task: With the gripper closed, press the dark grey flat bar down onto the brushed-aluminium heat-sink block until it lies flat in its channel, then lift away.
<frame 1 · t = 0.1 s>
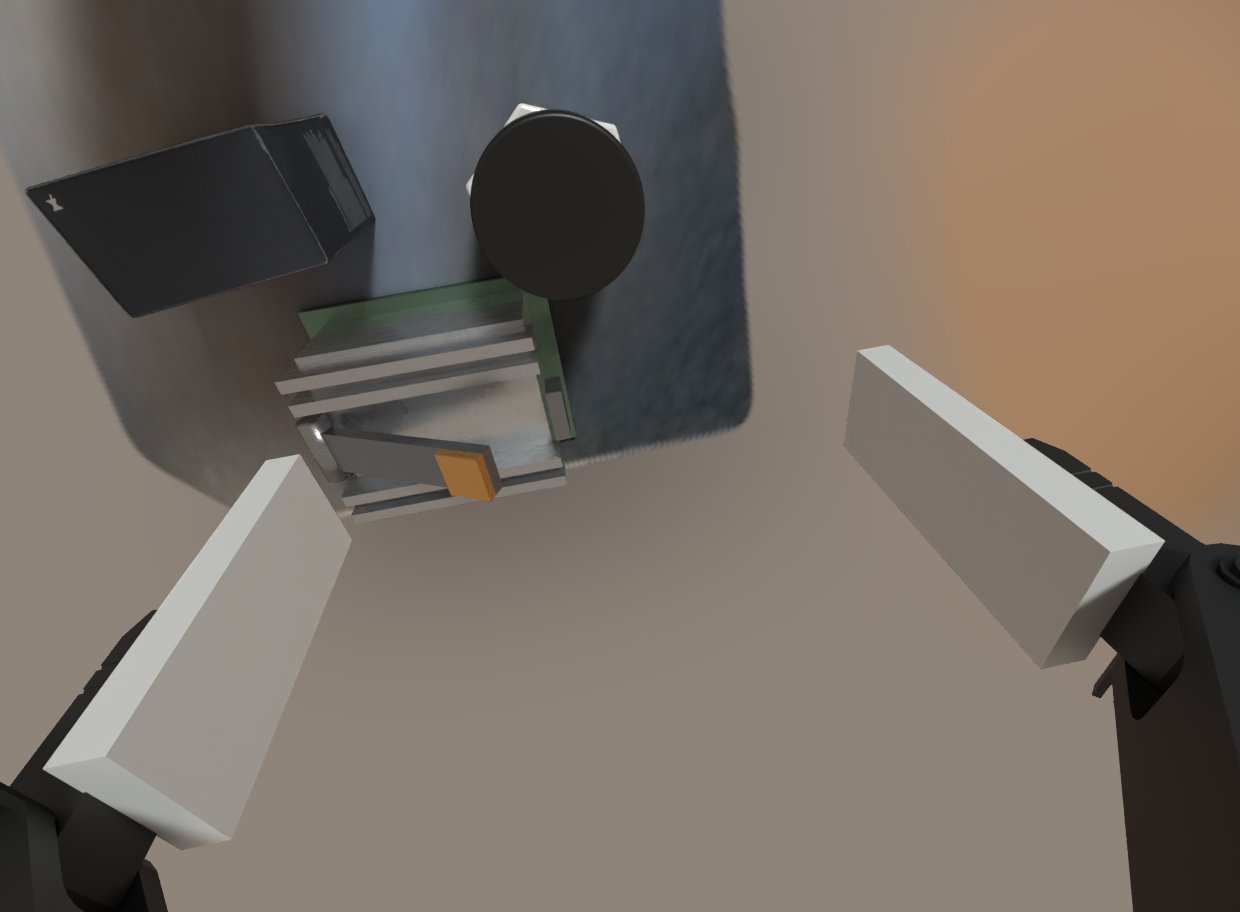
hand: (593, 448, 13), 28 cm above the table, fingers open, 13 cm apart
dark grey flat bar: (396, 458, 32), point 10 cm above the table, hinge at 28.0°
small box: (275, 193, 33), on the table
heatsink: (453, 378, 41), on the table
jar: (551, 179, 34), on the table
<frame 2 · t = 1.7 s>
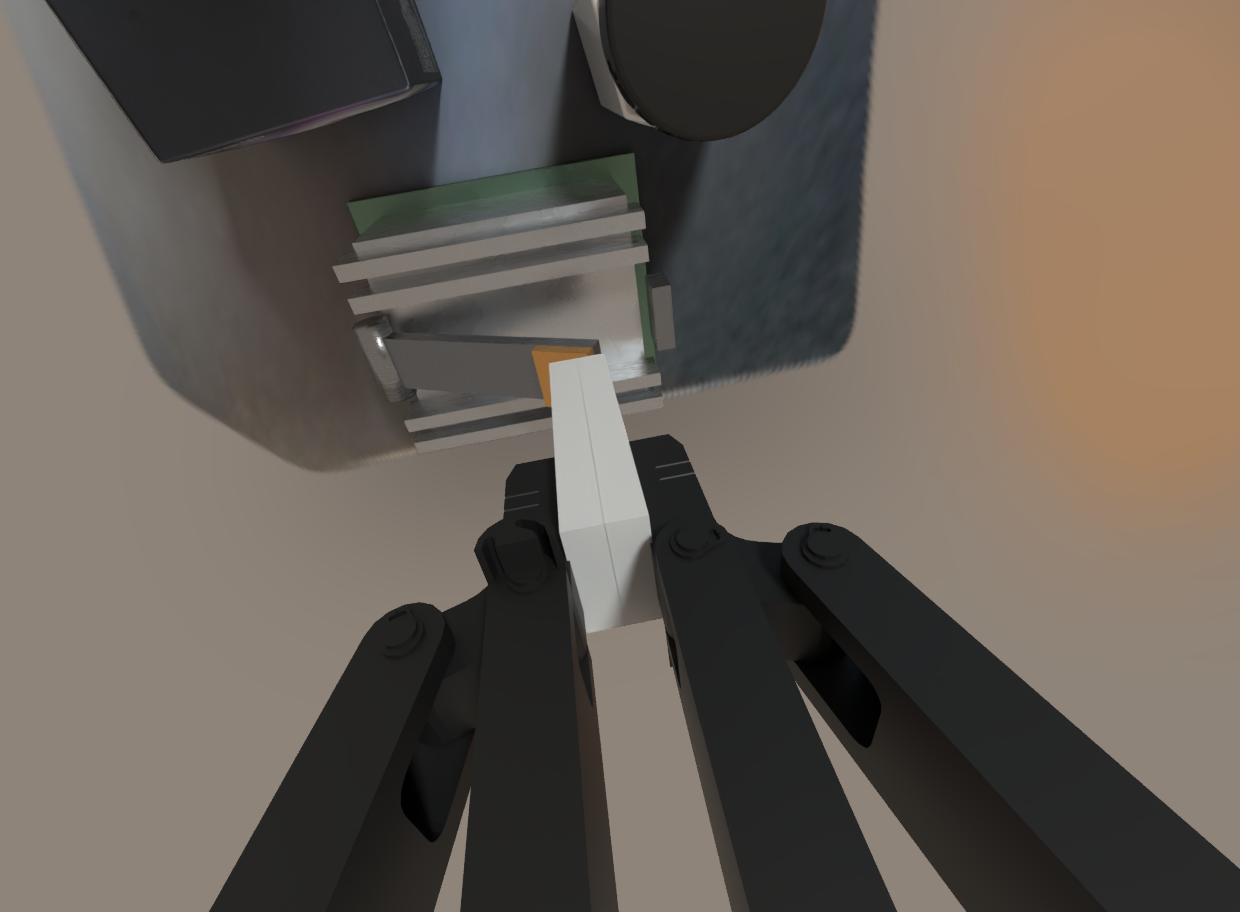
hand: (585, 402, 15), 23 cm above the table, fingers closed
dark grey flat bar: (476, 365, 27), point 10 cm above the table, hinge at 28.0°
small box: (323, 43, 27), on the table
heatsink: (521, 291, 35), on the table
jar: (653, 30, 28), on the table
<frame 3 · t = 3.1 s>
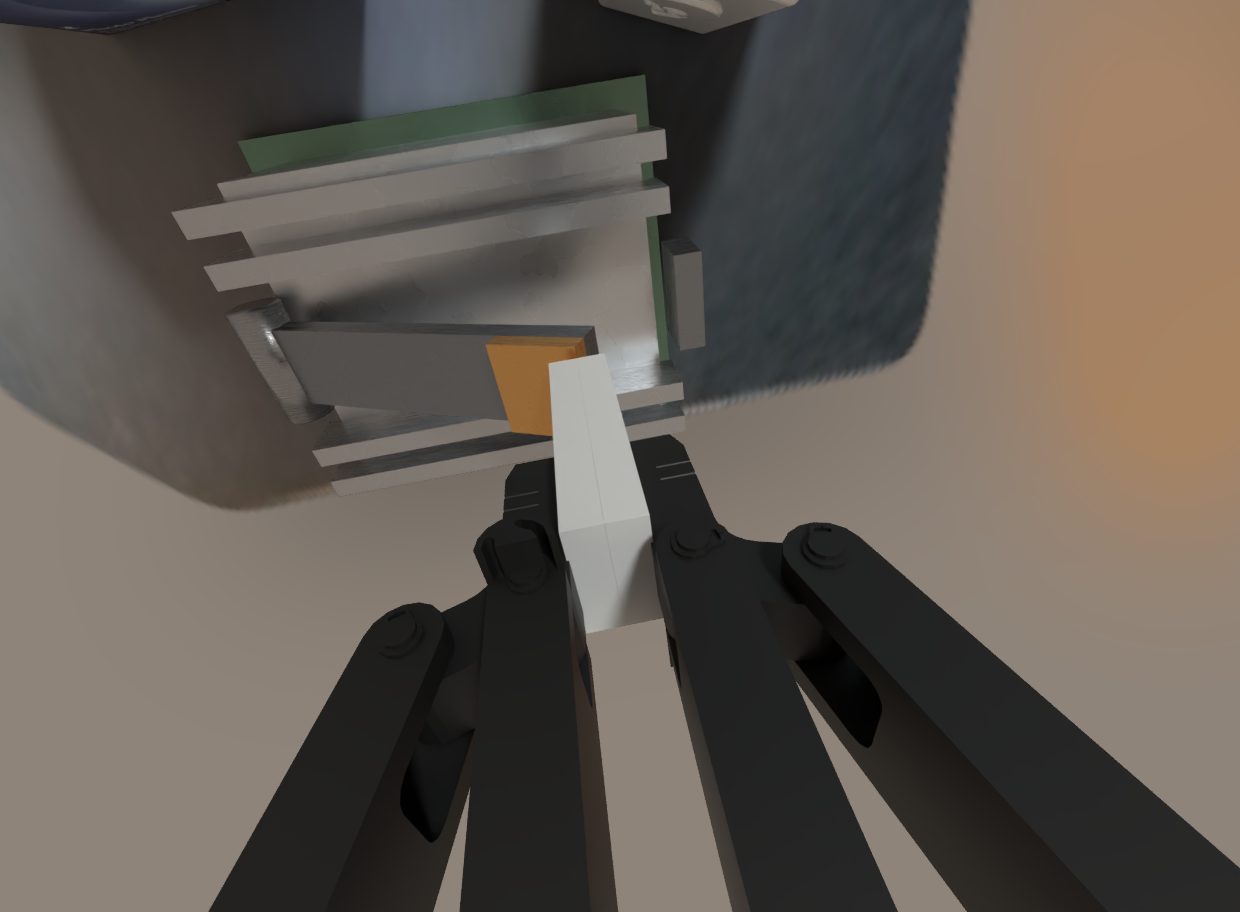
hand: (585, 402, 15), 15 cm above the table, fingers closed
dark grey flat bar: (408, 370, 18), point 10 cm above the table, hinge at 27.7°, touching gripper
heatsink: (491, 273, 26), on the table
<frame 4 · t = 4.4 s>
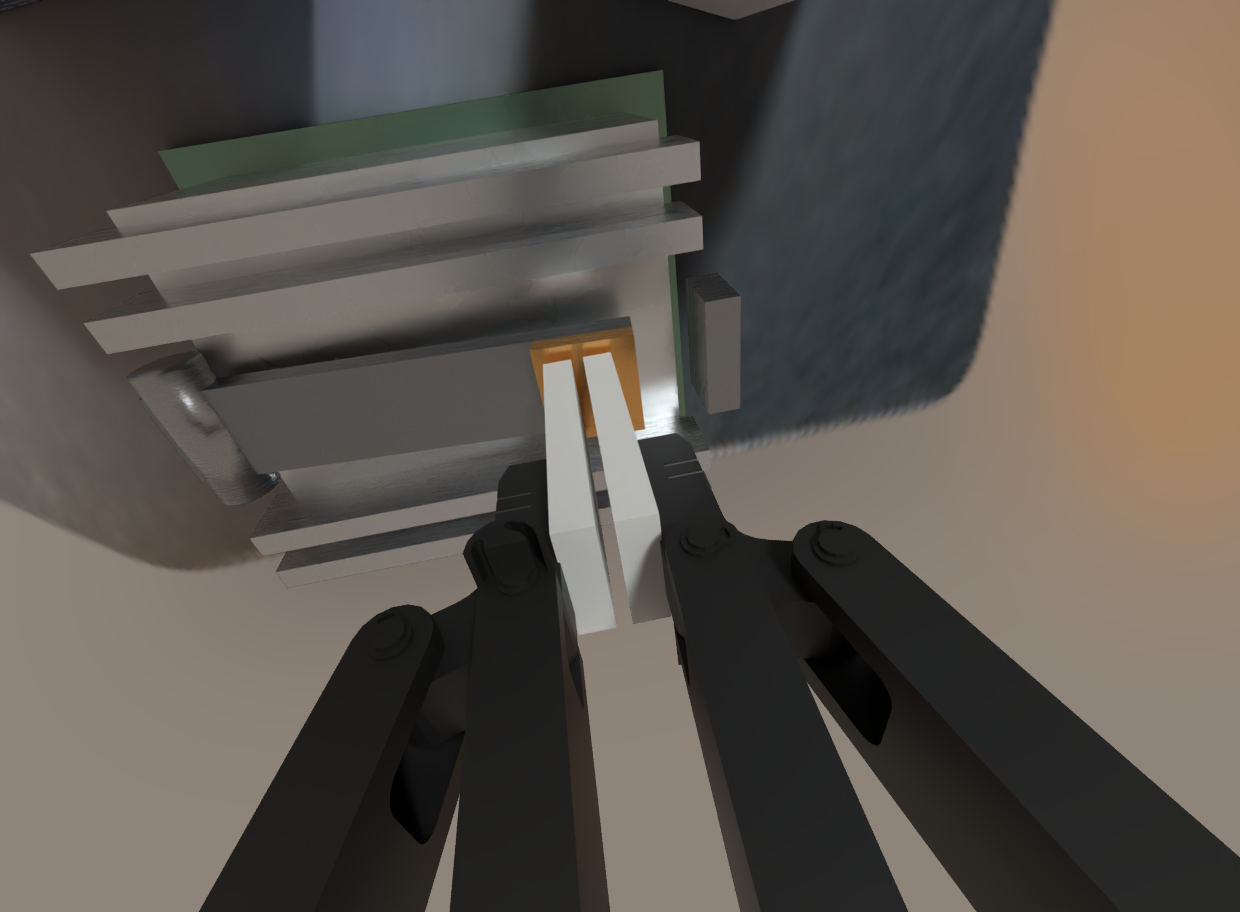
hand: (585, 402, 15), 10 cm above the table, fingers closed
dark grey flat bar: (405, 404, 16), point 8 cm above the table, hinge at 4.5°, touching gripper
heatsink: (477, 305, 22), on the table
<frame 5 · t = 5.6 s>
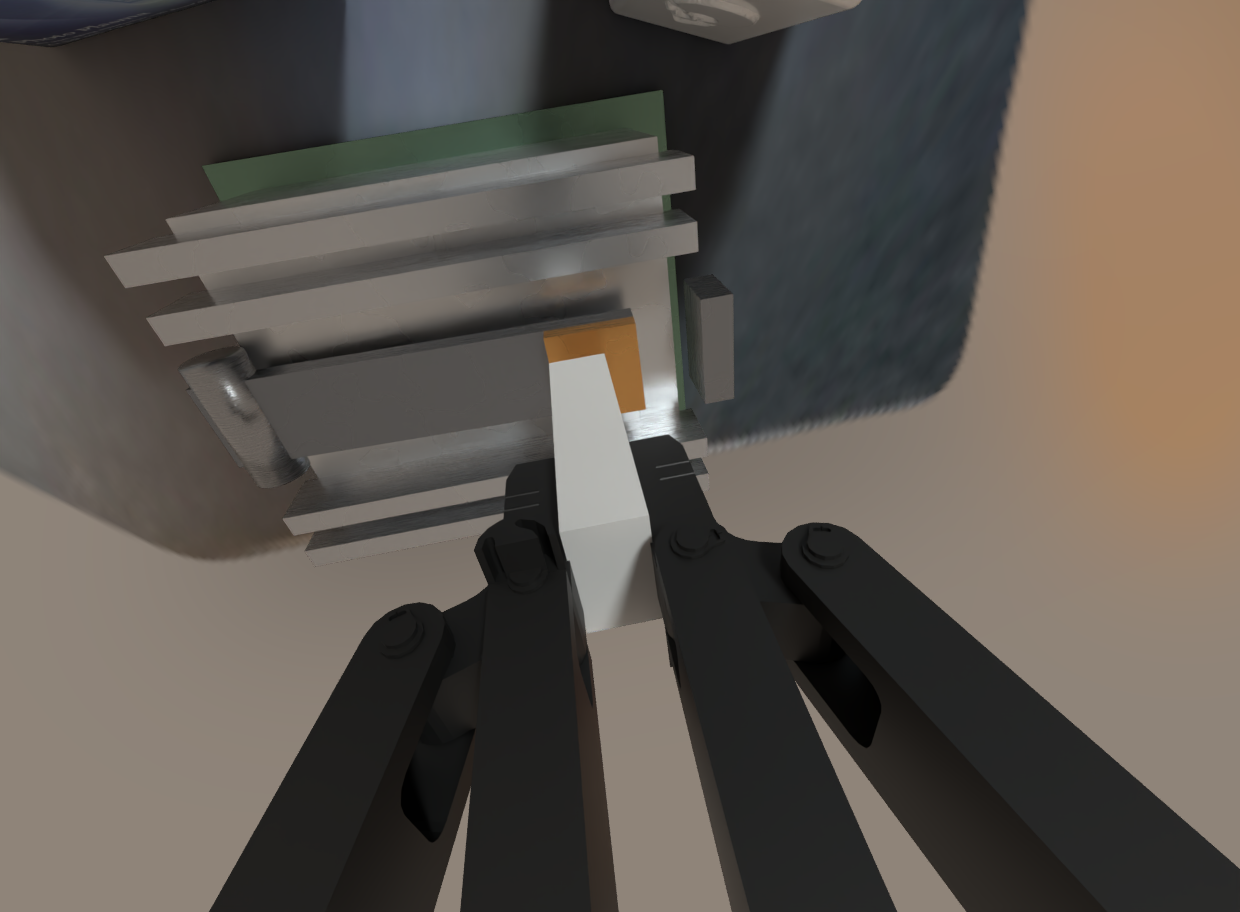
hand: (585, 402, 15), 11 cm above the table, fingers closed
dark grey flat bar: (428, 390, 17), point 8 cm above the table, hinge at 2.4°
heatsink: (489, 307, 24), on the table
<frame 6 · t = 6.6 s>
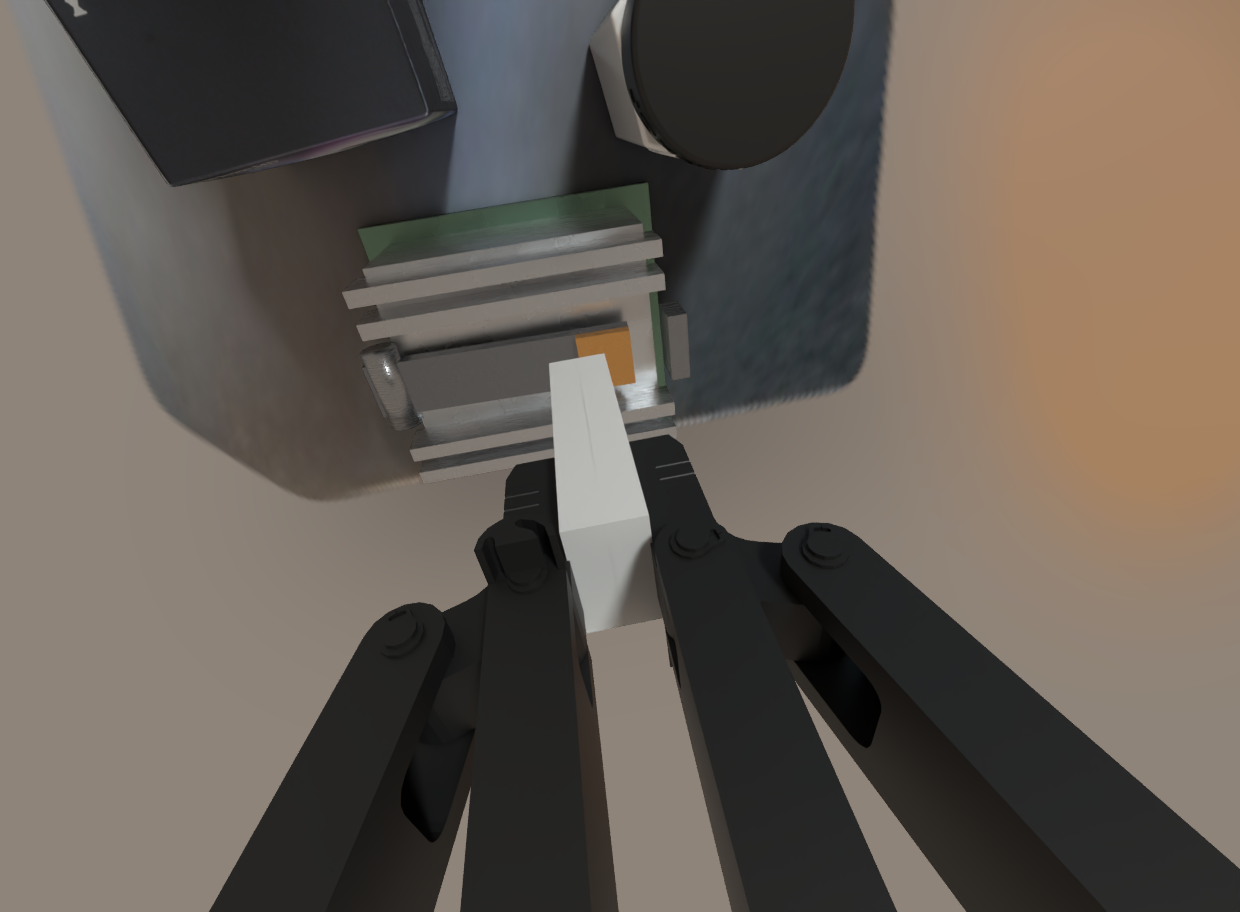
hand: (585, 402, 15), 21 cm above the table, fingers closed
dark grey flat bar: (503, 370, 28), point 8 cm above the table, hinge at 2.4°
small box: (340, 73, 27), on the table
heatsink: (531, 318, 35), on the table
jar: (669, 64, 28), on the table
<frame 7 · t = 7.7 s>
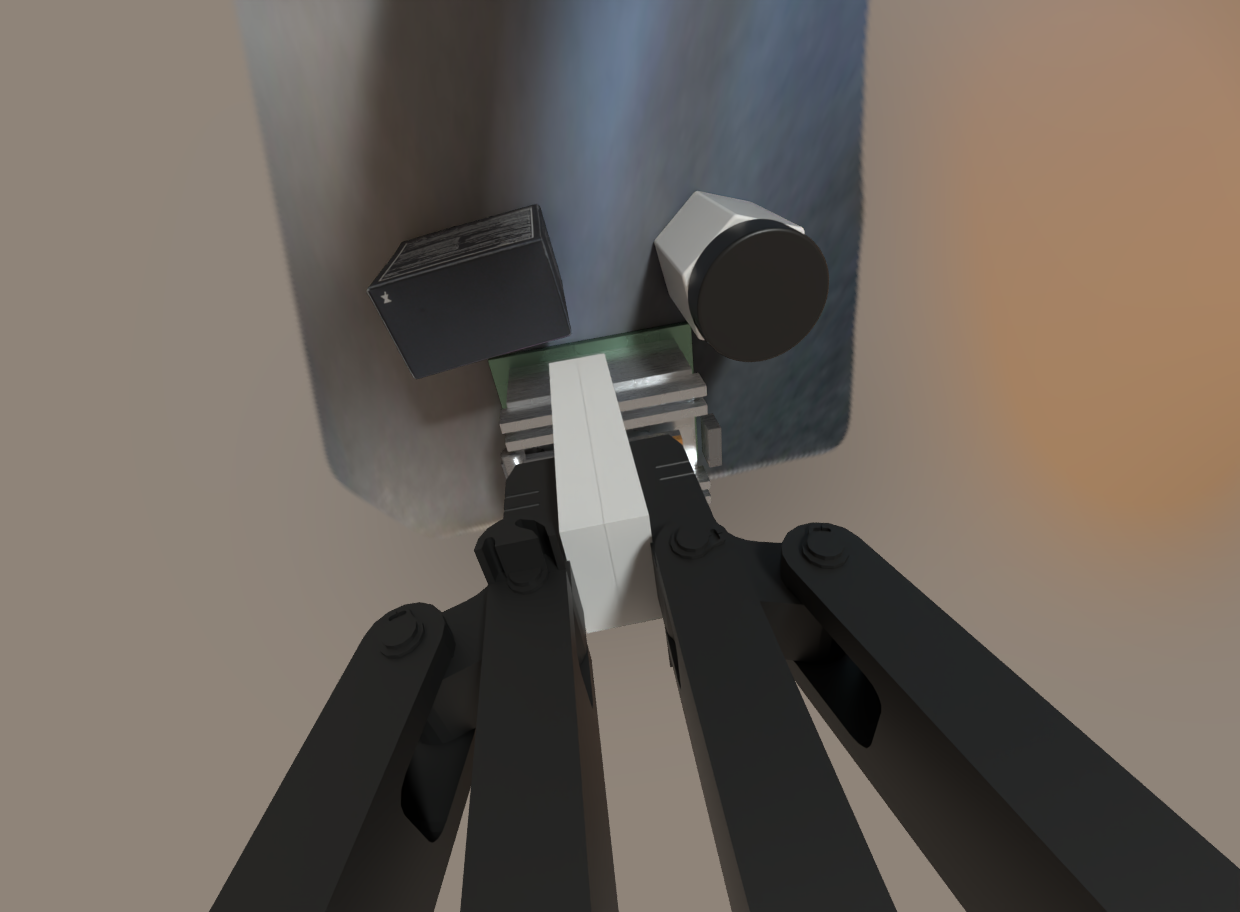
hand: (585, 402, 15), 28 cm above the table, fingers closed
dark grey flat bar: (593, 462, 41), point 8 cm above the table, hinge at 2.4°
small box: (485, 265, 39), on the table
heatsink: (602, 410, 48), on the table
jar: (707, 249, 41), on the table
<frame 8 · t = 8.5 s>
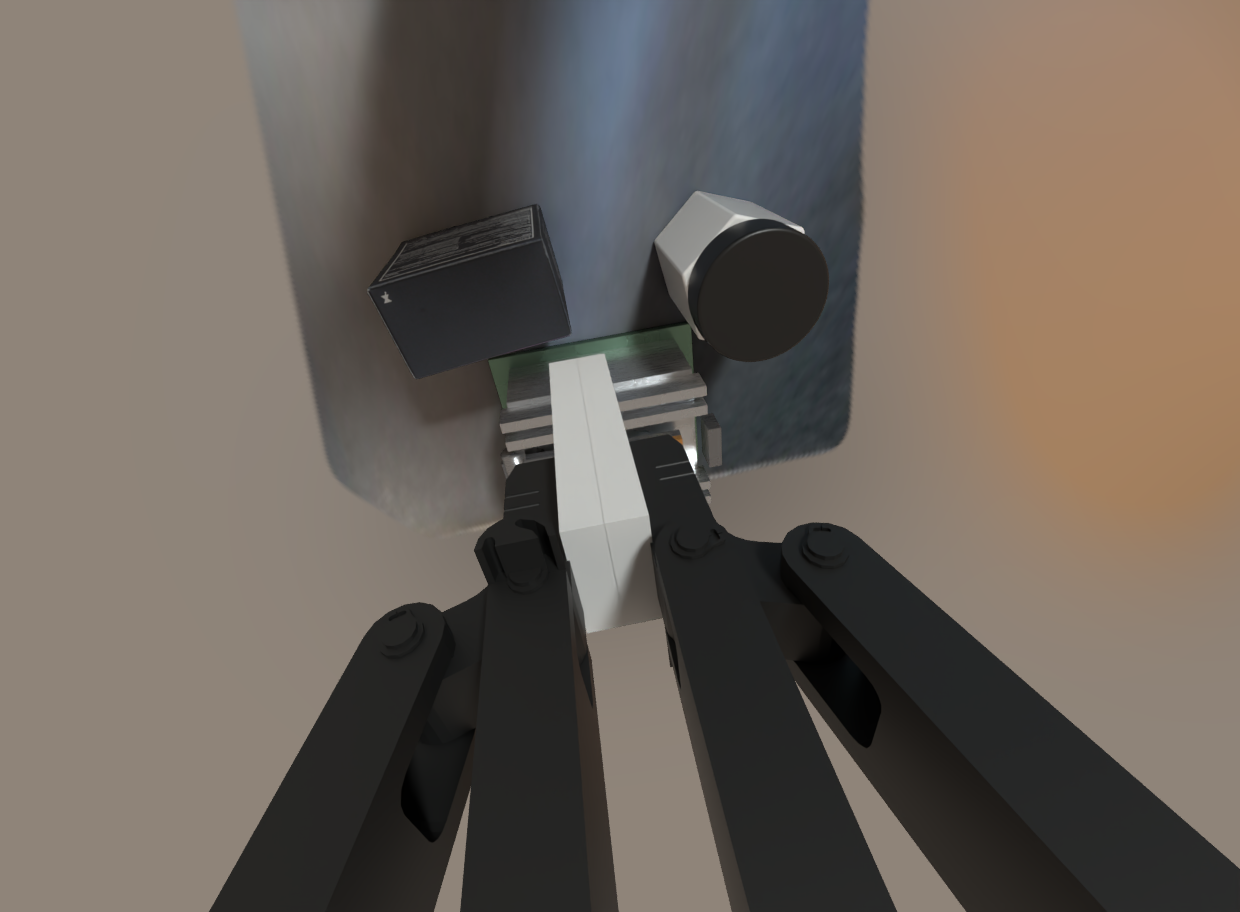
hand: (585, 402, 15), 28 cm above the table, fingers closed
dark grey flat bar: (594, 462, 41), point 8 cm above the table, hinge at 2.4°
small box: (485, 265, 39), on the table
heatsink: (602, 410, 48), on the table
jar: (707, 249, 41), on the table
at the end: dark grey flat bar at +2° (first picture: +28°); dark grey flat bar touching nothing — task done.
